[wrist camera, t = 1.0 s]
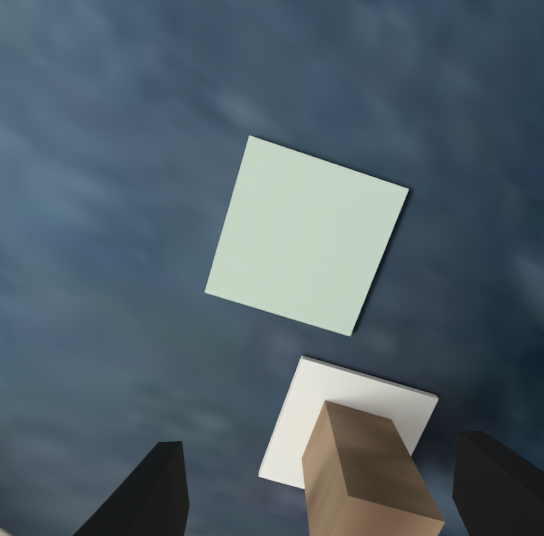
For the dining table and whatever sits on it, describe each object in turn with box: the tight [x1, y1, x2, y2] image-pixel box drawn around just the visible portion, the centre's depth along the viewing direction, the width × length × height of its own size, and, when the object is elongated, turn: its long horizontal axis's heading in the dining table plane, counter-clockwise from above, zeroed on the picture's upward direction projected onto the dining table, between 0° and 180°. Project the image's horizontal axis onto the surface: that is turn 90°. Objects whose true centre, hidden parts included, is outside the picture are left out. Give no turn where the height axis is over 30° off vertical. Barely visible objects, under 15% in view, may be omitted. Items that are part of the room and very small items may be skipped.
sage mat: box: [205, 136, 409, 336], centre depth 17 cm, size 8×8×1 cm
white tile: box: [259, 355, 438, 489], centre depth 19 cm, size 8×8×1 cm
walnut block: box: [302, 400, 445, 536], centre depth 16 cm, size 4×4×6 cm
